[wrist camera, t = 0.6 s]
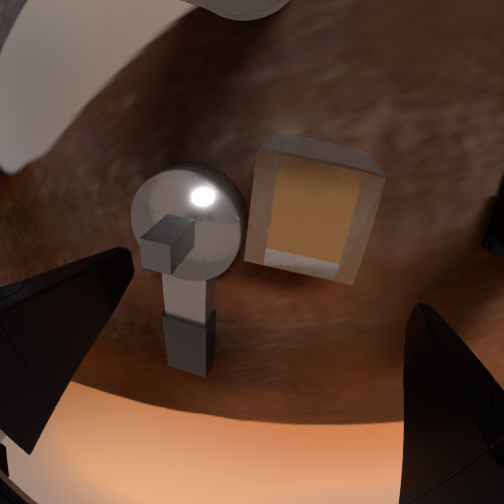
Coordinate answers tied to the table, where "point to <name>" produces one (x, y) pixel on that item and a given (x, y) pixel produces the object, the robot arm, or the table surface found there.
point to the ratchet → (189, 252)
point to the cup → (241, 8)
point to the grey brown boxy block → (312, 207)
